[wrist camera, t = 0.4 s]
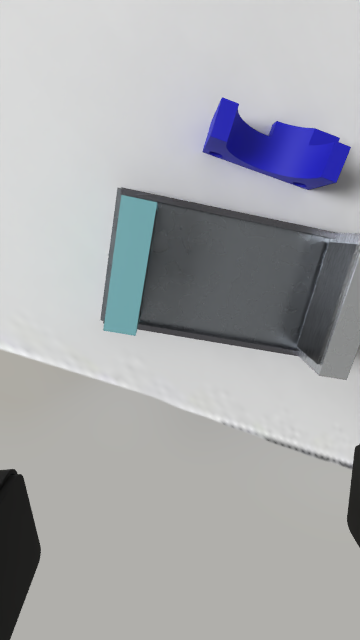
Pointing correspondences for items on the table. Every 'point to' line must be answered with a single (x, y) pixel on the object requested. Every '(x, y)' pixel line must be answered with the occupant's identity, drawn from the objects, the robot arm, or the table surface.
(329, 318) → the vise base
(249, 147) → the blue curved block
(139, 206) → the block
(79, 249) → the table surface
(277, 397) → the table surface
